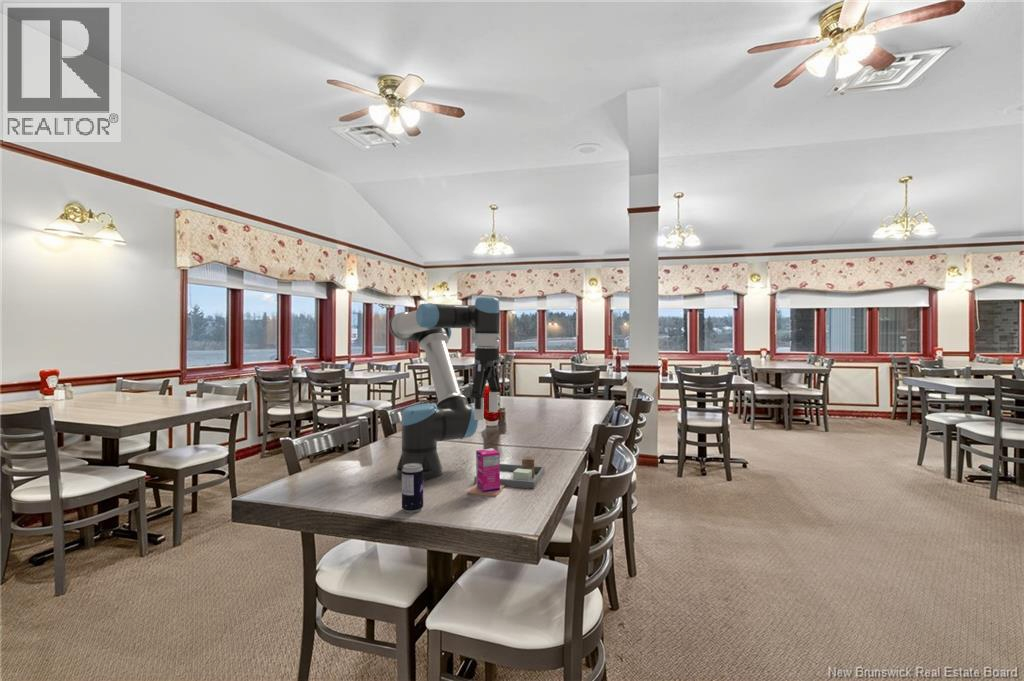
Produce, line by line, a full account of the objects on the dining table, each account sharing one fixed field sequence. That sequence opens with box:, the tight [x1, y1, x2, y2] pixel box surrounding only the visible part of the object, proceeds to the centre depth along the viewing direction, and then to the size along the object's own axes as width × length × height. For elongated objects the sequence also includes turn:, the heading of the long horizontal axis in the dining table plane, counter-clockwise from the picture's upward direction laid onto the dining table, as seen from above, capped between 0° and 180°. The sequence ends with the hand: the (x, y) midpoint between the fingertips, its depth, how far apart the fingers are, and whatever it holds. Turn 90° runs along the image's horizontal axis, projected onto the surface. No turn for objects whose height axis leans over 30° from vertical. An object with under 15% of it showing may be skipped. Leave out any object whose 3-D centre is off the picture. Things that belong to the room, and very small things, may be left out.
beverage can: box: [401, 463, 424, 514], centre depth 126 cm, size 6×6×12 cm
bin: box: [473, 463, 546, 489], centre depth 154 cm, size 19×17×2 cm
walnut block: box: [521, 455, 535, 479], centre depth 157 cm, size 4×4×6 cm
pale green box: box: [512, 468, 533, 481], centre depth 149 cm, size 5×4×4 cm
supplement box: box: [475, 447, 501, 492], centre depth 142 cm, size 6×6×12 cm
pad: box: [466, 484, 506, 497], centre depth 142 cm, size 9×9×1 cm
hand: (486, 415), depth 145 cm, fingers open, 13 cm apart
